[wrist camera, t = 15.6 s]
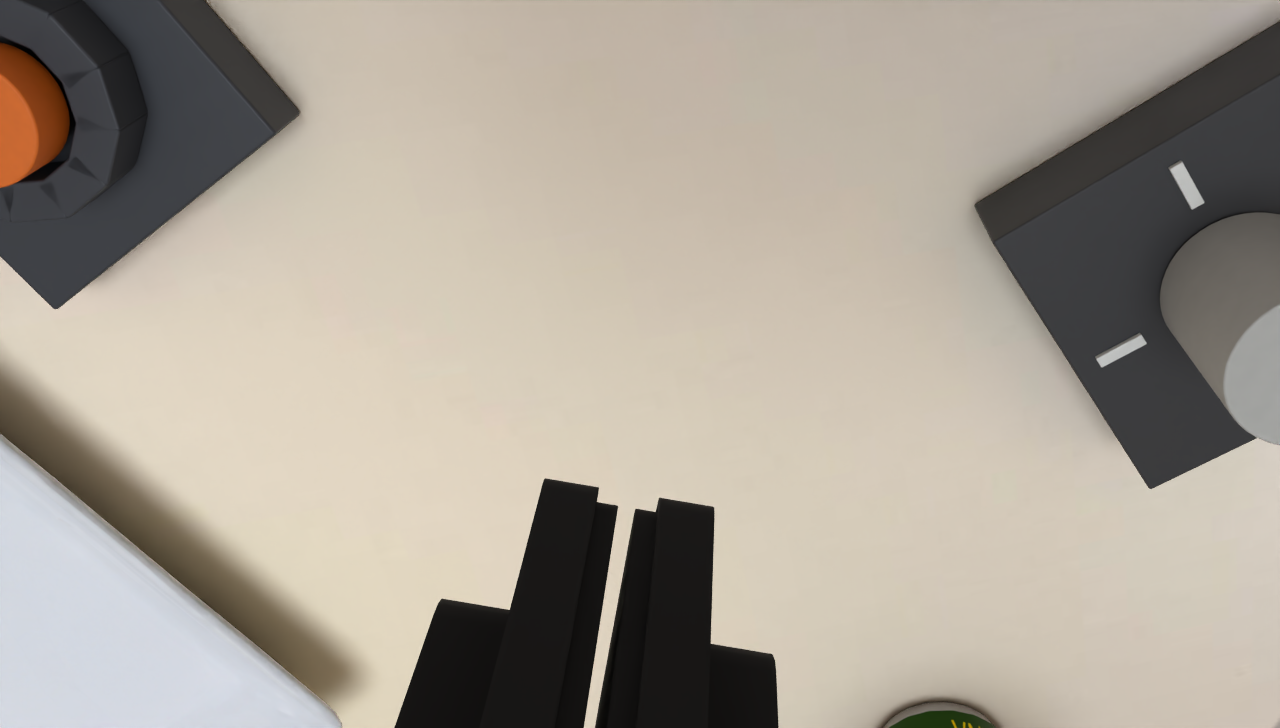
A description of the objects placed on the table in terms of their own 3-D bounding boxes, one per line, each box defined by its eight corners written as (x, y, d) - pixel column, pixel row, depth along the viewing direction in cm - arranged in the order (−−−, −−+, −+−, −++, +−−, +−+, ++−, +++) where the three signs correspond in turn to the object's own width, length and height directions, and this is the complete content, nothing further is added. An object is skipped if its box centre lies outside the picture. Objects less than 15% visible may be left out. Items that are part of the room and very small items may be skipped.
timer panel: (973, 204, 35) (993, 244, 33) (1301, 7, 32) (1355, 33, 29) (1122, 438, 39) (1151, 493, 36) (1432, 283, 35) (1491, 329, 33)
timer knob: (1196, 380, 34) (1268, 482, 30) (1132, 263, 33) (1199, 352, 28) (1349, 307, 33) (1450, 401, 28) (1290, 181, 31) (1387, 259, 27)
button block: (-161, 33, 35) (-259, 66, 32) (50, -181, 32) (-35, -171, 29) (88, 282, 39) (24, 337, 35) (301, 112, 36) (254, 154, 32)
